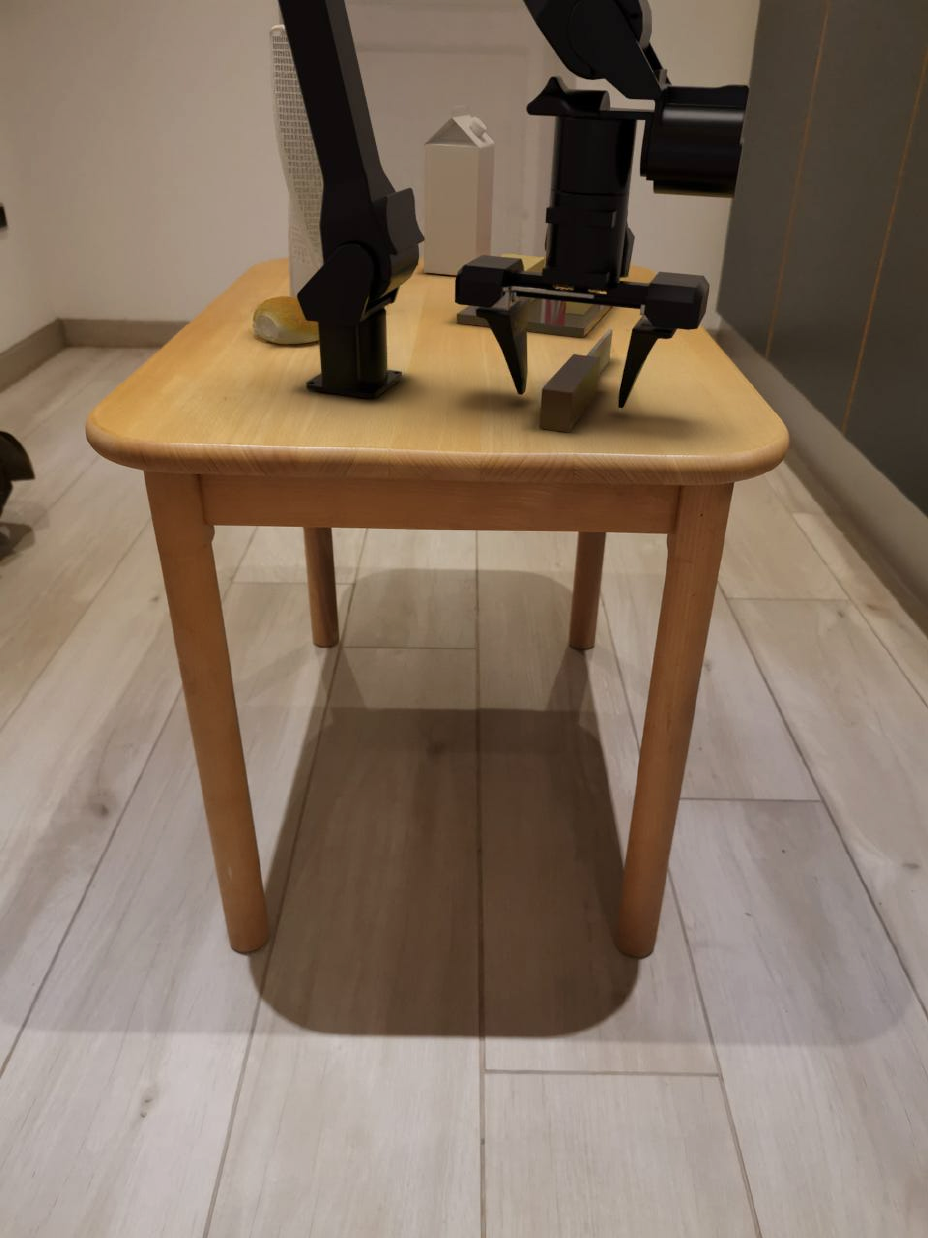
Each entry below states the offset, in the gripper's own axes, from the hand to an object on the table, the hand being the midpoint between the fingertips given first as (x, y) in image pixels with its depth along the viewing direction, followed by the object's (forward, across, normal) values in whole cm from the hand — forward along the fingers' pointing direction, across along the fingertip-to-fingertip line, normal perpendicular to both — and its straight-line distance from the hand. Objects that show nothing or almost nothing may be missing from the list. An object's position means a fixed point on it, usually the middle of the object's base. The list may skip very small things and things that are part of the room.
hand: (570, 399), depth 72 cm
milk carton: (+1, +27, -47) cm, 54 cm away
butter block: (0, +14, -31) cm, 34 cm away
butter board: (+1, +11, -30) cm, 32 cm away
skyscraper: (+1, +34, -22) cm, 41 cm away
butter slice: (0, +6, -31) cm, 32 cm away
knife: (+1, 0, -5) cm, 5 cm away
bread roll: (+1, +31, -11) cm, 33 cm away
